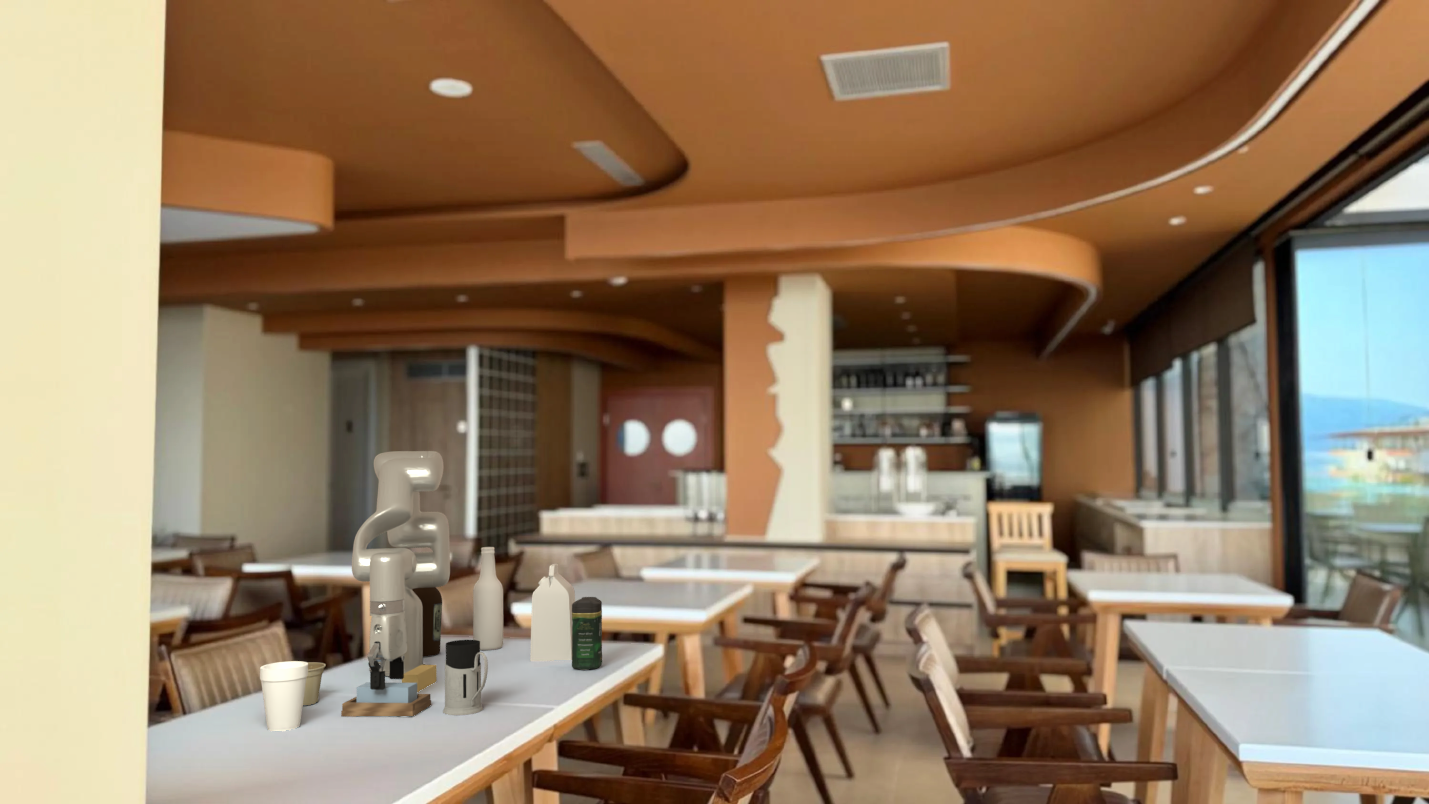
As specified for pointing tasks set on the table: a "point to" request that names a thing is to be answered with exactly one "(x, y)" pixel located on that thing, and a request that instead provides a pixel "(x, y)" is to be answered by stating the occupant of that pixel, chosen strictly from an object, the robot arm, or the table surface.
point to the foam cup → (283, 693)
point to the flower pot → (313, 683)
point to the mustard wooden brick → (421, 676)
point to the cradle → (386, 707)
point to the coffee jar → (587, 633)
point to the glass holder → (463, 677)
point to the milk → (552, 618)
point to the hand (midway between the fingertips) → (387, 683)
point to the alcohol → (488, 604)
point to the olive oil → (430, 619)
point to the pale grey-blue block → (388, 693)
